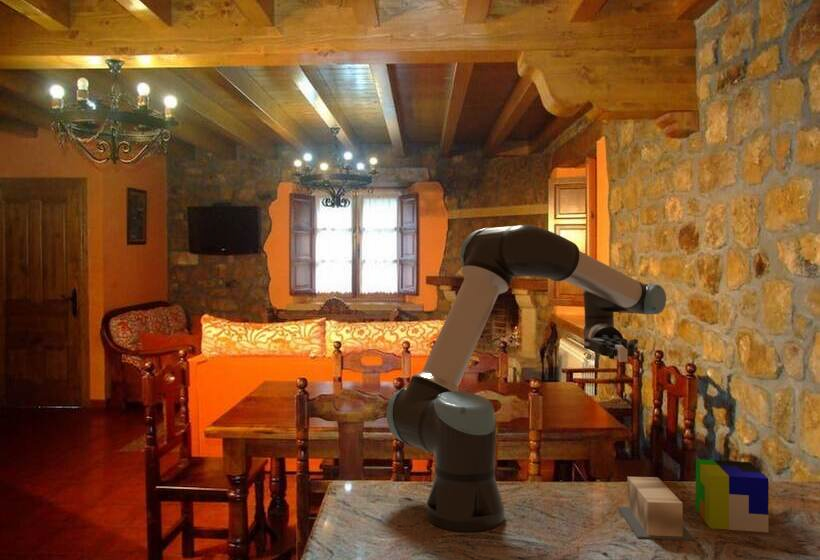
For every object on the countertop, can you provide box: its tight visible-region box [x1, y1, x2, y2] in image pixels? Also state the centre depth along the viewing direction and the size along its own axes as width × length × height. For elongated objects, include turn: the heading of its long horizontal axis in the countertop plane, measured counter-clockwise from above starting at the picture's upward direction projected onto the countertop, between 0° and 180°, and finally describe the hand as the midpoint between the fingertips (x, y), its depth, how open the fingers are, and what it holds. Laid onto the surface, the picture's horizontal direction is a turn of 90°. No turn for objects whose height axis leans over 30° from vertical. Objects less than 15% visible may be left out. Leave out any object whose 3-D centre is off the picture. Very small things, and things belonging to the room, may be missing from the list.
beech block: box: [626, 476, 684, 537], centre depth 117 cm, size 6×6×14 cm
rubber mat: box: [617, 506, 696, 541], centre depth 116 cm, size 14×10×1 cm
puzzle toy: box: [695, 458, 769, 533], centre depth 118 cm, size 10×10×10 cm
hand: (623, 355), depth 133 cm, fingers closed
